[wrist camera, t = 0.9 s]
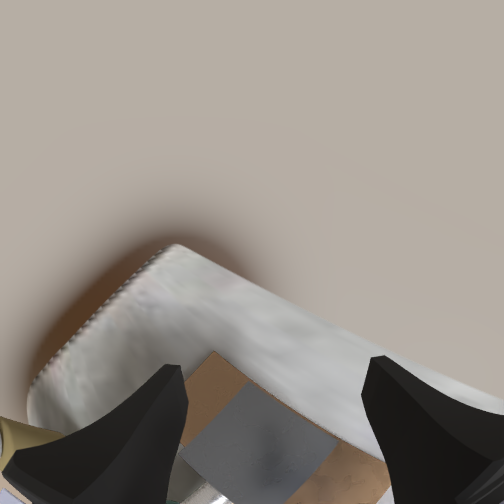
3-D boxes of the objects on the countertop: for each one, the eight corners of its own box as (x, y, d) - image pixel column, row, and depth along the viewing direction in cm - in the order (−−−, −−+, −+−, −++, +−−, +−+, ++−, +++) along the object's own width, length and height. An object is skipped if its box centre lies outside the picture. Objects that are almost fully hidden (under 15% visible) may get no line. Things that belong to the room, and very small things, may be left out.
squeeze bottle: (83, 427, 23) (-39, 368, 10) (110, 482, 18) (-33, 450, 5) (52, 449, 21) (-59, 400, 8) (74, 499, 16) (-51, 469, 3)
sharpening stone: (329, 544, 11) (331, 573, 6) (161, 416, 24) (120, 400, 18) (396, 469, 15) (423, 474, 10) (218, 355, 27) (192, 326, 22)
